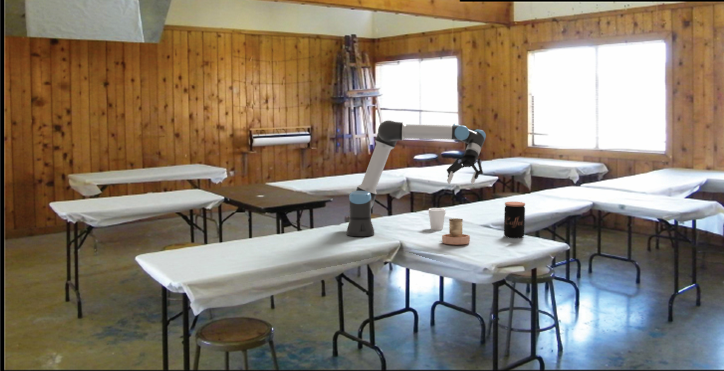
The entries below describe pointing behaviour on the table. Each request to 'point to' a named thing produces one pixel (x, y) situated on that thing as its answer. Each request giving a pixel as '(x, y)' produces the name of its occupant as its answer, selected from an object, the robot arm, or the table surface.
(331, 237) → the table surface
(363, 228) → the robot arm
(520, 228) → the coffee jar
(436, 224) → the foam cup
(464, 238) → the bowl
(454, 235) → the canister
